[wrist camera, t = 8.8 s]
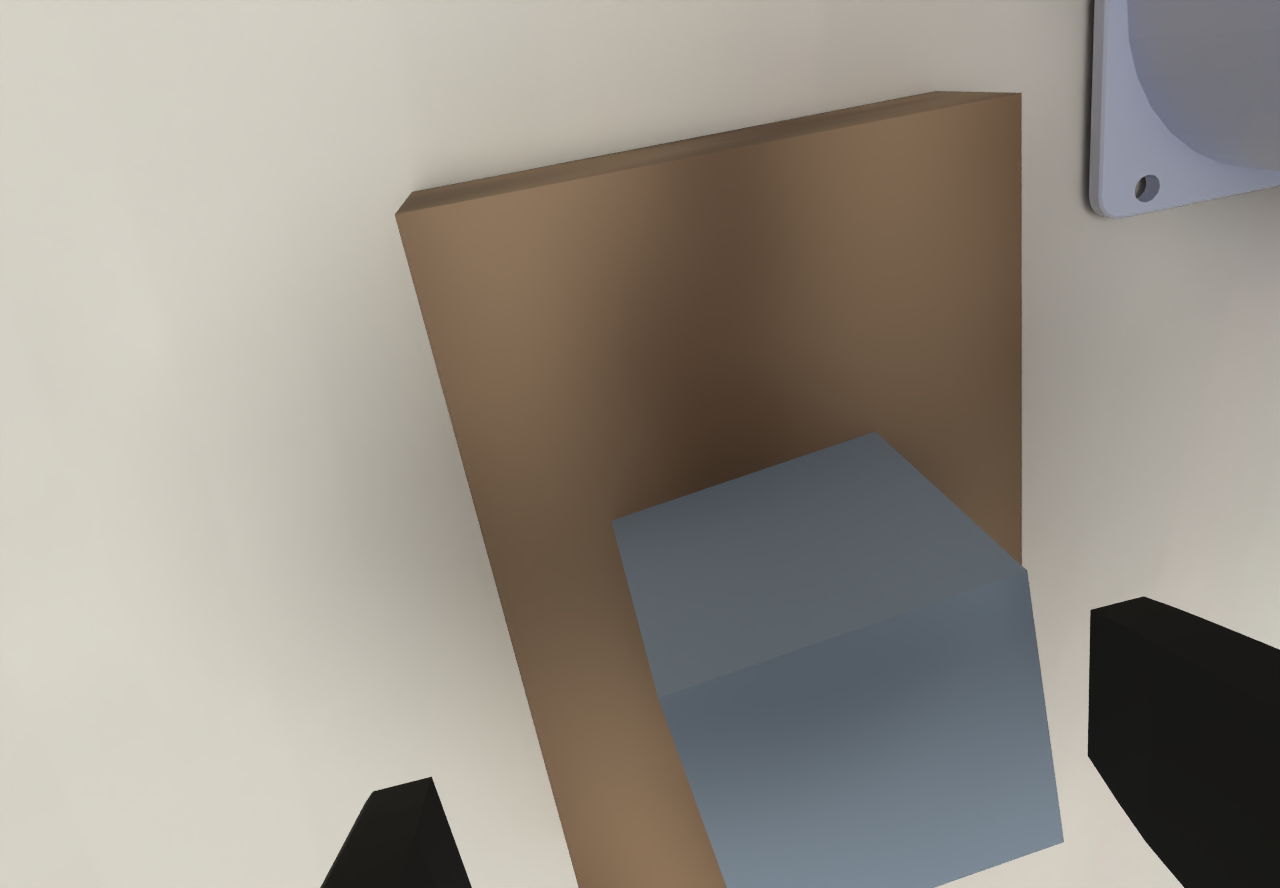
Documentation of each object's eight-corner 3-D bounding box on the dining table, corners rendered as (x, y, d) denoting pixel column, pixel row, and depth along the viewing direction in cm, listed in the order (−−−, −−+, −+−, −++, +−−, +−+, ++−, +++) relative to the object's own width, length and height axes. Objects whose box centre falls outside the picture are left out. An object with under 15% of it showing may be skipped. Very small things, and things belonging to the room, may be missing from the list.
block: (875, 431, 16) (1027, 571, 11) (919, 649, 18) (1063, 841, 13) (611, 520, 16) (658, 697, 11) (685, 729, 18) (749, 952, 13)
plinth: (936, 91, 17) (1021, 93, 14) (959, 744, 23) (1021, 833, 20) (411, 192, 16) (395, 214, 13) (581, 837, 23) (593, 943, 20)
